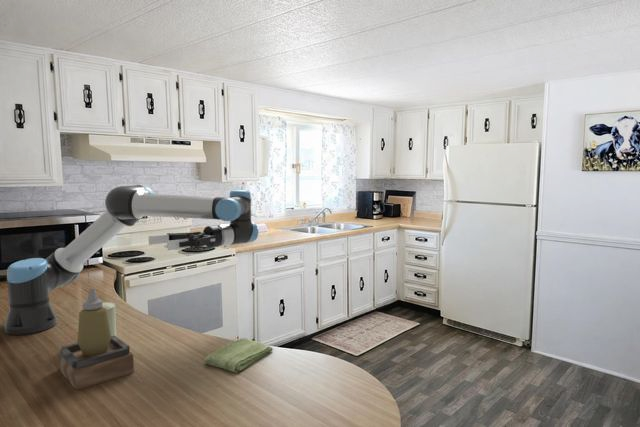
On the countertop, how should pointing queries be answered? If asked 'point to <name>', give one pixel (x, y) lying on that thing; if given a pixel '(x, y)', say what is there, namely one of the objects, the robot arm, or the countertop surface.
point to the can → (111, 316)
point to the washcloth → (237, 355)
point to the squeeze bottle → (93, 327)
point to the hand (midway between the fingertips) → (158, 242)
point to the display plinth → (95, 364)
